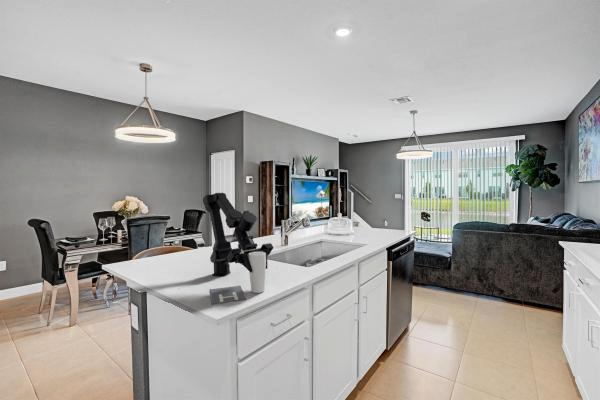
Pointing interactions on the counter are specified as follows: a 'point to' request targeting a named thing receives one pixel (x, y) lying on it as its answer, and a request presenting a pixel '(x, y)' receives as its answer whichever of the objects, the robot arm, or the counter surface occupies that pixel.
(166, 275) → the counter surface
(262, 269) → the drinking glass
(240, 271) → the counter surface
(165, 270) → the counter surface
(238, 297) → the board
